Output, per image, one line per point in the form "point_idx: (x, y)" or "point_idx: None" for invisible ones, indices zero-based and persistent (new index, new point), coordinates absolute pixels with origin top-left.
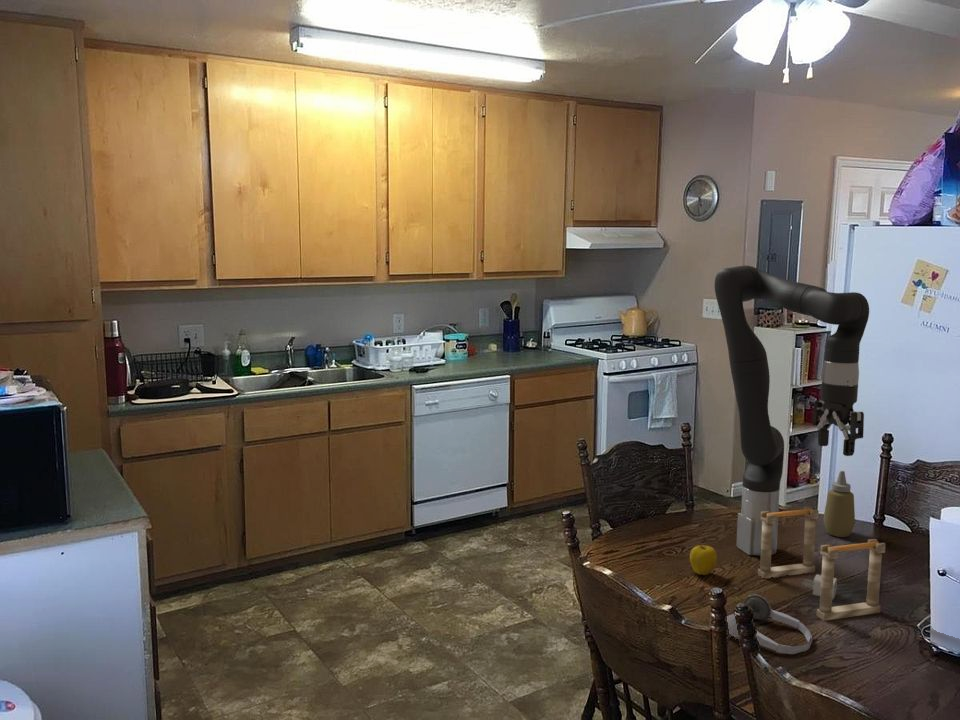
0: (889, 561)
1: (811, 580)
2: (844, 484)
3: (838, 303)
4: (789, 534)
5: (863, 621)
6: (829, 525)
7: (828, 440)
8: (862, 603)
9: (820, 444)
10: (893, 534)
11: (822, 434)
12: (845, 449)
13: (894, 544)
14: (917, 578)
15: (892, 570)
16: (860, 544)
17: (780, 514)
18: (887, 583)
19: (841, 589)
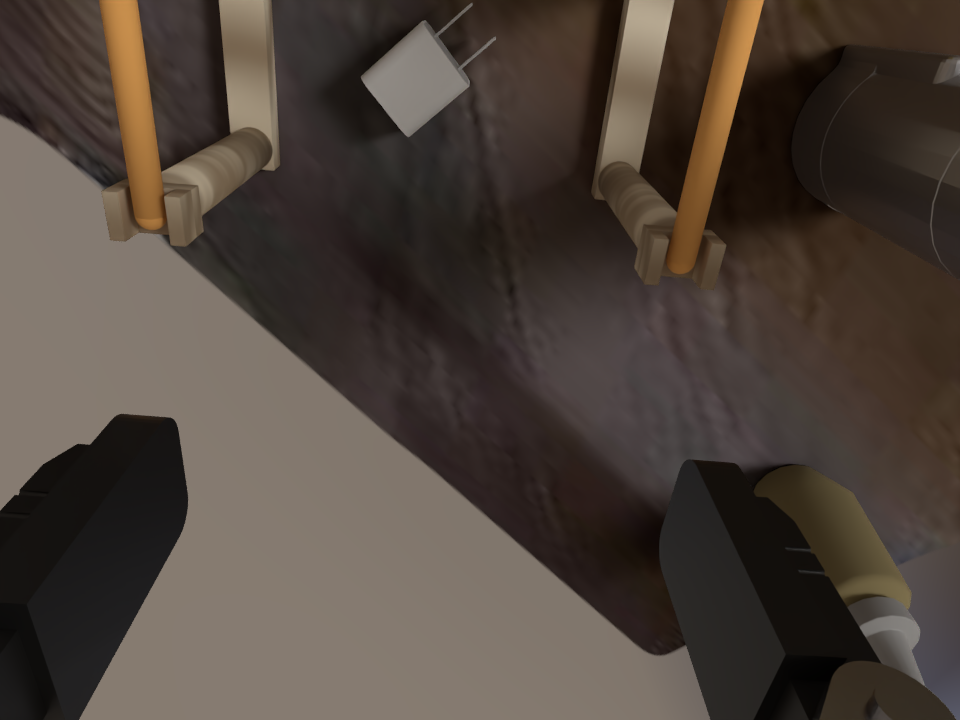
0: (551, 472)
1: (472, 57)
2: None
3: None
4: (887, 352)
5: (188, 43)
6: (808, 479)
7: (675, 610)
8: (264, 117)
9: (693, 469)
10: None
11: (741, 616)
12: (76, 468)
13: (637, 565)
14: (423, 453)
15: (496, 433)
16: (121, 103)
17: (726, 23)
18: (424, 352)
19: (435, 174)
